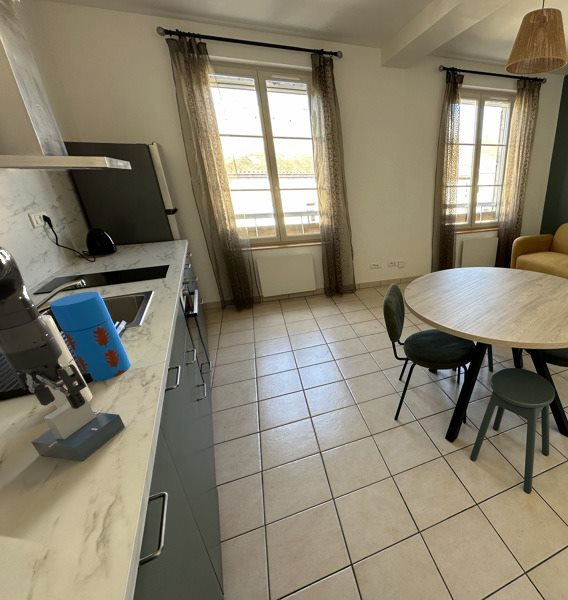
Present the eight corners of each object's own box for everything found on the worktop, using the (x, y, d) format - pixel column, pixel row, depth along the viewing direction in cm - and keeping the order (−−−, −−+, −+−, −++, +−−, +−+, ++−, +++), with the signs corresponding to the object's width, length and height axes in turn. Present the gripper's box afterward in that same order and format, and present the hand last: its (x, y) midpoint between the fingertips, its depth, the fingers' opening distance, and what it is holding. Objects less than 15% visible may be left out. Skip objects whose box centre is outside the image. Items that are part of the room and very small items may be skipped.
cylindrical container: (97, 391, 94) (57, 313, 84) (84, 407, 88) (39, 325, 78) (67, 397, 92) (22, 318, 82) (51, 414, 86) (1, 330, 76)
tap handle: (64, 439, 72) (50, 417, 69) (56, 438, 72) (42, 417, 70) (96, 416, 78) (85, 396, 76) (88, 416, 79) (77, 395, 76)
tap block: (36, 457, 73) (27, 443, 71) (88, 420, 83) (81, 407, 81) (80, 463, 71) (71, 449, 69) (127, 425, 81) (121, 412, 79)
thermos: (101, 384, 97) (62, 308, 87) (79, 377, 100) (40, 303, 90) (139, 364, 106) (108, 293, 96) (118, 358, 110) (86, 289, 100)
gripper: (-24, 349, 64) (19, 414, 71) (32, 353, 61) (71, 419, 68) (22, 331, 71) (57, 391, 77) (75, 334, 68) (107, 395, 75)
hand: (64, 404), depth 73 cm, fingers open, 8 cm apart
